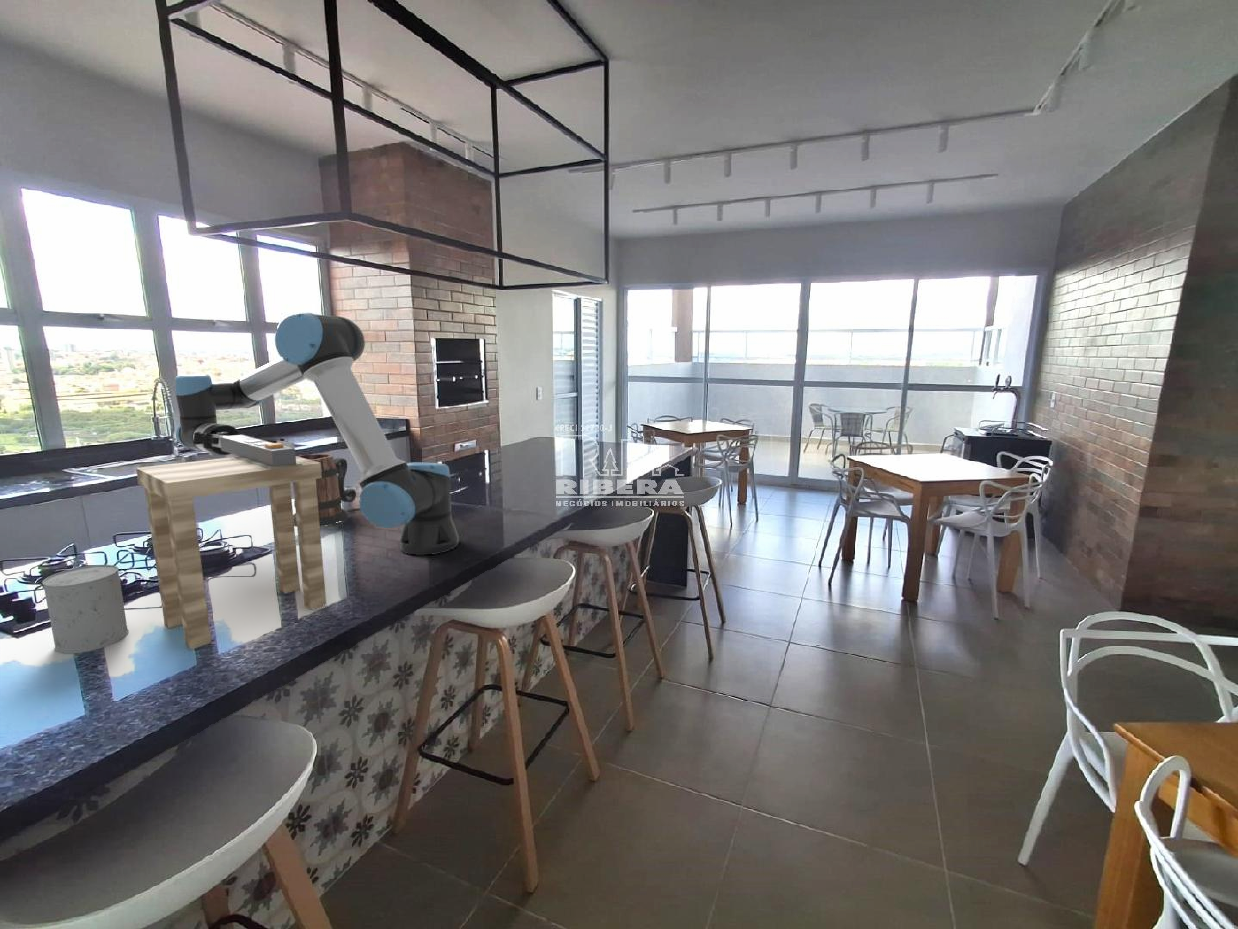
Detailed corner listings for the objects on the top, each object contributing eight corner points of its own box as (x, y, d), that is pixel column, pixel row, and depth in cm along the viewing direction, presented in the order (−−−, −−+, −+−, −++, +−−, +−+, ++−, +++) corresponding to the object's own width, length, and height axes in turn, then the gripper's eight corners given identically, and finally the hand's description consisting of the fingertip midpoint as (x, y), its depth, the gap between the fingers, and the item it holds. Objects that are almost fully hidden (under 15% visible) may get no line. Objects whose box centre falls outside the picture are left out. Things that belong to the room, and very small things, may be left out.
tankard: (320, 529, 161) (315, 462, 157) (274, 524, 166) (268, 458, 162) (375, 509, 183) (371, 450, 180) (333, 504, 188) (329, 447, 184)
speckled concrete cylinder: (55, 639, 98) (42, 573, 95) (126, 622, 104) (116, 560, 102) (54, 660, 91) (41, 591, 89) (130, 640, 98) (120, 575, 95)
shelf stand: (158, 622, 105) (135, 466, 99) (293, 583, 123) (280, 451, 118) (190, 653, 94) (166, 481, 88) (332, 606, 113) (320, 461, 107)
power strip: (221, 450, 117) (219, 433, 116) (242, 448, 120) (241, 432, 119) (273, 466, 101) (271, 447, 101) (296, 463, 105) (294, 445, 104)
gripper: (269, 457, 147) (313, 465, 136) (154, 449, 125) (195, 457, 114) (273, 430, 147) (317, 435, 136) (158, 416, 126) (199, 421, 114)
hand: (261, 445), depth 125 cm, fingers open, 13 cm apart
